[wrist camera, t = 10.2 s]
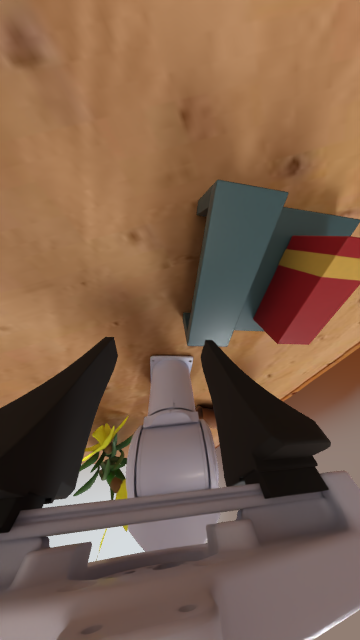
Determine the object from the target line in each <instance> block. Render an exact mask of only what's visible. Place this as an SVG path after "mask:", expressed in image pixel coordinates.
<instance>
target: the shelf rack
mask: <svg viewBox="0 0 360 640" xmlns="http://www.w3.org/2000/svg"><path fill="white" fill-rule="evenodd" d="M287 196H288V192H284V191H279V190H273V189H268V188H262V187H256V186H251V185H245V184H240V183H234V182H229V181H223V180H217V181H216V182H215V183H214V184H213V185H212V186H211V187H210V188H209V189H208V190H207V192H206V193H205V194H204V195H203V196H202V197H201V198H200V199H199V201H198V207H197V215H198V216H205V217H207V219H206V225H205V231H204V237H203V243H202V249H201V255H200V261H199V267H198V273H197V279H196V284H195V290H194V296H193V302H192V308H191V313H183V324H184V329H185V335H186V341H187V345H188V346H204V343H205V340H213V341H214V342H215V343H216V344H217V345H218V346H220V347H227V346H228V344H229V341H230V339H231V336H232V334H233V331H234V330H244V331H264V330H263V329H262V328H261V327H260V326H259V325H258V324H257V323H256V322H255V321H254V320H253V318H254V316H255V314H256V312H257V310H258V308H259V306H260V303H261V301H262V299H263V297H264V295H265V293H266V291H267V289H268V287H269V284H270V282H271V280H272V278H273V276H274V274H275V272H276V270H277V267H278V264H279V262H280V260H281V258H282V256H283V254H284V252H285V250H286V248H287V246H288V244H289V242H290V240H291V238H292V236H351V235H352V233H353V232H354V230H355V229H356V227H357V226H358V224H359V223H360V220H359V219H353V218H347V217H341V216H335V215H329V214H323V213H317V212H311V211H305V210H299V209H293V208H287V207H283V206H284V204H285V201H286V199H287Z"/></svg>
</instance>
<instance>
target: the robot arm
mask: <svg viewBox="0 0 360 640" xmlns="http://www.w3.org/2000/svg"><path fill="white" fill-rule="evenodd" d="M117 357H118V354H117V350H116V345H115V340H114V337H105V338H104V339H102V340H101V341H100V342H99V343H98V344H96V345H95V346H94V347H93V348H92V349H90V350H89V351H88V352H87V353H85V354H84V355H83V356H82V357H81V358H79V359H78V360H77V361H75V362H74V363H73V364H71V365H70V366H69V367H67V368H66V369H65V370H63V371H62V372H60V373H59V374H57V375H56V376H54V377H53V378H51V379H50V380H48V381H47V382H45V383H44V384H42V385H40V386H39V387H37V388H35V389H34V390H32V391H30V392H29V393H27V394H25V395H23V396H22V397H20V398H18V399H17V400H15V401H13V402H11V403H9V404H7V405H6V406H4V407H2V408H0V640H313V639H315V638H317V637H318V636H320V635H321V634H323V633H324V632H326V631H328V630H329V629H331V628H332V627H334V626H335V625H337V624H338V623H340V622H341V621H343V620H345V619H346V618H348V617H349V616H351V615H352V614H354V613H355V612H357V611H359V610H360V489H359V487H358V486H357V485H356V483H355V482H354V481H353V479H352V478H351V477H350V475H349V474H348V473H347V472H346V471H336V472H327V473H322V474H319V473H318V471H317V469H316V468H315V466H317V462H316V461H315V459H314V458H313V455H315V454H317V453H319V452H321V451H323V450H325V449H327V448H328V447H330V445H331V442H330V440H329V439H328V438H327V437H326V435H325V434H324V433H323V431H322V430H321V429H320V428H319V426H318V425H317V424H316V423H315V421H313V420H312V419H310V418H309V417H307V416H305V415H303V414H302V413H300V412H298V411H297V410H295V409H293V408H292V407H290V406H289V405H287V404H286V403H284V402H283V401H281V400H279V399H278V398H277V397H275V396H274V395H272V394H271V393H269V392H268V391H267V390H265V389H264V388H263V387H261V386H260V385H259V384H257V383H256V382H255V381H254V380H252V379H251V378H250V377H249V376H248V375H246V374H245V373H244V372H243V371H242V370H241V369H240V368H239V367H238V366H237V365H236V364H234V363H233V362H232V361H231V360H230V358H229V357H228V356H227V355H226V354H225V353H224V352H223V351H222V350H221V349H220V348H219V347H218V345H217V344H216V343H215V342H214V341H213V340H205V343H204V347H203V350H202V354H201V362H202V368H203V372H204V375H205V378H206V382H207V385H208V388H209V392H210V395H211V399H212V403H213V408H214V413H215V419H216V424H217V430H218V436H219V442H220V448H221V456H222V463H223V470H224V478H225V481H226V486H227V487H223V488H219V486H218V479H219V474H218V464H217V457H216V452H215V446H214V442H213V437H212V434H211V430H210V428H209V425H208V424H207V423H206V422H205V421H204V419H199V416H198V412H196V410H195V404H194V398H193V391H192V385H191V379H190V372H191V367H192V363H193V357H192V356H151V357H150V368H151V390H150V400H149V409H148V417H144V424H143V425H141V426H139V427H138V428H137V430H136V431H135V433H134V435H133V437H132V440H131V443H130V447H129V452H128V458H127V467H126V489H127V499H118V500H109V501H101V502H92V503H84V504H74V505H66V506H57V507H48V508H42V506H43V504H49V503H52V502H53V501H54V500H55V499H65V498H67V497H68V496H69V495H70V494H71V493H72V492H73V490H74V489H75V486H76V482H77V478H78V474H79V470H80V467H81V463H82V459H83V455H84V452H85V448H86V445H87V441H88V438H89V434H90V431H91V428H92V425H93V421H94V418H95V415H96V412H97V409H98V406H99V403H100V401H101V398H102V396H103V394H104V391H105V389H106V387H107V384H108V382H109V380H110V377H111V375H112V373H113V370H114V368H115V364H116V361H117ZM234 510H239V511H238V513H237V519H236V520H235V521H228V522H221V523H217V522H218V520H219V517H220V512H227V511H234ZM125 525H128V530H129V532H130V533H131V534H132V536H133V537H134V538H135V540H136V541H137V542H138V544H139V545H140V546H141V547H142V548H143V550H144V551H145V552H142V553H137V554H131V555H126V556H121V557H116V558H110V559H105V560H100V561H95V562H90V563H88V559H89V555H90V551H91V546H92V543H91V542H86V543H79V544H72V545H65V546H60V547H54V548H50V547H49V538H48V537H46V536H53V535H60V534H67V533H75V532H82V531H89V530H96V529H103V528H110V527H118V526H125ZM206 541H208V543H206Z"/></svg>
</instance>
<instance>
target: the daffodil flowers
mask: <svg viewBox="0 0 360 640" xmlns="http://www.w3.org/2000/svg"><path fill="white" fill-rule="evenodd" d="M128 416H129V415H128ZM128 416H127V418H128ZM127 418H126V419H125V420H124V421H123V422H122V423H121V424H120V426H119V427H118V428H117V429H116V430H115V431H114V426H113V427H112V429H110V427H109V425H108V424H107V423H106V424H105V427H104V426H102V425H101V426H100V427H99V428H97V430H95V432H93V434H92V436H93V437H94V438H95V439H96V440H97V441H98V442H99V443H98V444H96V445H94V446H92V447H90V448H86V449H85V451H93V452H92V453H91V454H89V455H88V456H86V457H85V458H84V459H82V461H85V460H87V459H88V458H89V457H90V456H92V455H93V454H94V453H95V454H94V455H93V456H92V457H91V458H90V459H88V460H87V461H86V462H85V463H84V464H83V465H82V466H81V467H80V470H79V471H81V470H83V469H85V468H87V467H88V466H90V465H91V464H93V463H94V462H95V461H96V460H97V459H98V457H99V451H101V450H103V453H102V455H101V457H100V458H99V460H98V461H97V463H96V464H95V465H94V467H93V469H92V470H91V472H93V471H94V470H95V469H96V468H97V467H98V470H97V471H96V473H95V474H94V476H93V477H92V478H91V479H90V480H89V481H88V482H87V483H86V484H85V485H84V486H82V487H81V488H80V489H79V490H78V491H77V492H76V493H75V494H74V495H73V496H77V495H79V494H81V493H83V492H85V491H86V490H88V489H89V488H90V487H91V486H92V484H93V483H94V482H95V480H96V477H97V476H98V473H99V475H100V477H101V480H107V482H108V484H109V486H110V490H111V500H113V497H114V493H117V494H116V499H115V500H118V499H127V489H126V479H125V477H124V475H123V473H122V472H121V470H120V469H119V468H121V467H123V466H125V464H127V458H124V452H123V451H122V450H121V449H122V448H124V447H126V446H127V445H129V444H130V443H131V440H132V437H133V435H134V434H133V435H132V436H131V437H129V438H128V439H126V440H125V441H124V442H122V443H120V444H118V445H116V444H117V432H118V431H119V430H120V429H121V427H122V426H123V425H124V424H125V422H126V420H127ZM113 432H114V433H113ZM114 436H115V437H114ZM113 437H114V440H113V443H112V444H111V443H110V442H111V440H112V439H113ZM117 450H119V451H120V452H121V456H120V457H116V456H115V455H116V451H117ZM111 453H112V454H111ZM105 456H107V457H109V459H107V460H105V462H102V461H103V459H104V457H105ZM100 466H101V467H102V470H100V471H99V469H100ZM123 527H124V529H125V531H127V529H128V525H125V526H123ZM106 530H107V529H106ZM106 530H105V532H106ZM104 536H105V534H104ZM104 536H103V538H102V541H103V539H104ZM102 541H101V544H100V548H101V545H102Z"/></svg>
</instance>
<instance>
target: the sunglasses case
mask: <svg viewBox="0 0 360 640" xmlns="http://www.w3.org/2000/svg"><path fill="white" fill-rule="evenodd" d="M195 410H196V412H198V416H199V419H204V421H205V422H206V423H207V424H208V425H209V427H210V428H212V429H217V424H216V419H215V413H214V409H207V408H202V407H201V406H197V407H196V408H195Z"/></svg>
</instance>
